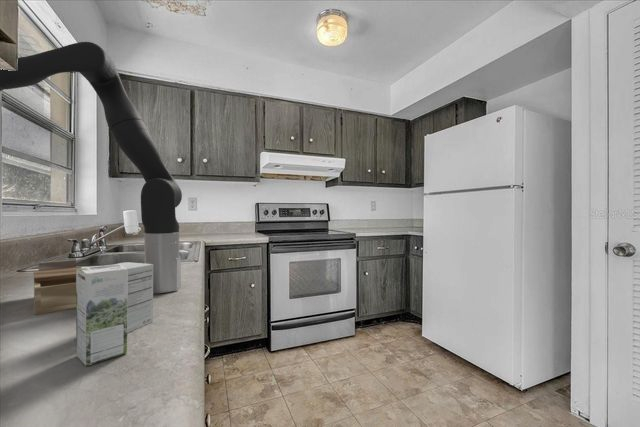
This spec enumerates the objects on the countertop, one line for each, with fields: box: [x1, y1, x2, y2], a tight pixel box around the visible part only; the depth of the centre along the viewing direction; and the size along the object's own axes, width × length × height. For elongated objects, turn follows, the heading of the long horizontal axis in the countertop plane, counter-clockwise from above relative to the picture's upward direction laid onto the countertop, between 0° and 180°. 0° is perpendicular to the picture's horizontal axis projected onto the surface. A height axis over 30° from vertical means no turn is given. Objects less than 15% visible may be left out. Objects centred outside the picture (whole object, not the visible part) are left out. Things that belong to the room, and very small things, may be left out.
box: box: [33, 277, 76, 316], centre depth 75 cm, size 12×10×6 cm
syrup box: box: [75, 263, 128, 367], centre depth 49 cm, size 6×6×14 cm
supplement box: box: [112, 261, 154, 334], centre depth 61 cm, size 7×7×13 cm
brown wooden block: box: [33, 258, 83, 283], centre depth 81 cm, size 14×10×3 cm
